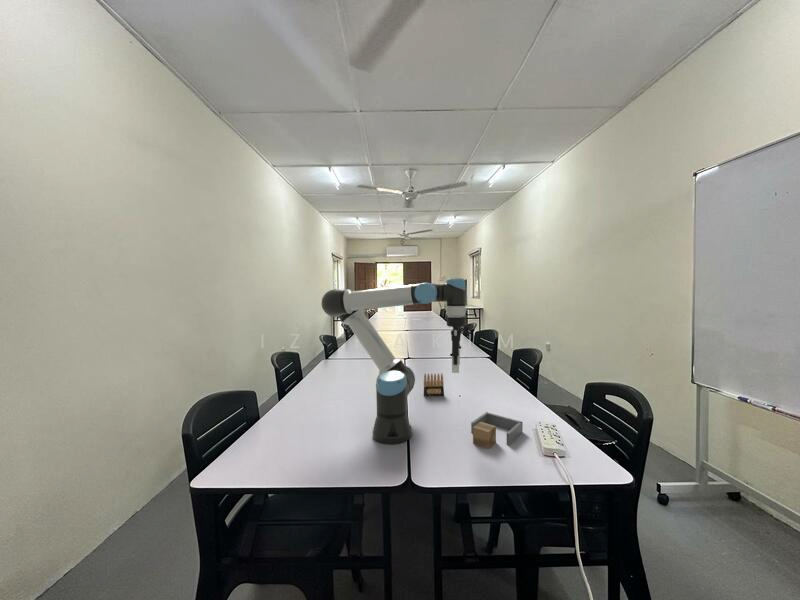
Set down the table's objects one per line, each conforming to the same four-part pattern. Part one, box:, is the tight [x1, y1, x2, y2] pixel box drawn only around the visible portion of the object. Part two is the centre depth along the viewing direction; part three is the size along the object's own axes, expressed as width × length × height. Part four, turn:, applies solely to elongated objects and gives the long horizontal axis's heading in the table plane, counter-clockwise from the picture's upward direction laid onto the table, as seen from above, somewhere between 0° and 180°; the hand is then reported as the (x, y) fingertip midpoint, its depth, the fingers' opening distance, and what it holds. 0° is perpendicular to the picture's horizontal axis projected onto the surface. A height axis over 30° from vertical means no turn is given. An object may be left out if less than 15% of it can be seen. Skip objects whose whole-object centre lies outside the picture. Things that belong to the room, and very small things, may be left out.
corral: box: [470, 411, 524, 446], centre depth 118 cm, size 13×15×4 cm
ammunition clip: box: [423, 372, 445, 397], centre depth 160 cm, size 11×2×12 cm, turn 90°
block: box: [472, 422, 497, 450], centre depth 110 cm, size 6×6×6 cm
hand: (456, 368), depth 124 cm, fingers open, 13 cm apart
